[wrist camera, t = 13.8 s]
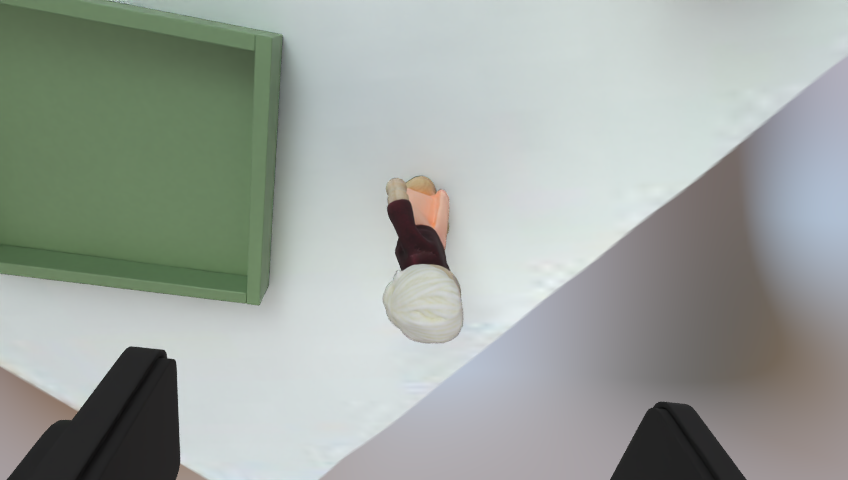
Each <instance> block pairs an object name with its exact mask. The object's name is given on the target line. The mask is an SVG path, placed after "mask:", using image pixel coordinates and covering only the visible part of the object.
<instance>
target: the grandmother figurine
mask: <svg viewBox="0 0 848 480" xmlns="http://www.w3.org/2000/svg"><path fill="white" fill-rule="evenodd" d="M386 192H387V194H388V207H387V211H388V215H389V218H390V220H391V222H392V224H393V226H394V228H395V230H396V232H397V234H398V237H399V239H398V242H397V246H396V249H395V255H396V257H397V260H398V262H399V265H400V268H401V271H398V270H397V271H396V274H395V275H394V278H393V280H392V281H391V282H390V283H389V284H388V285H387V287H386V289H385V292H384V295H383V303H384V306H385V309H386V314H387V316H388V318H389V320H390V321H391V322H392V323H393V324H394V325H395V326H396V327H397V328H399V329H400V330H401V331H402V333H403V334H404V335H405V336H406V337H408V338H409V339H411V340H413V341H416V342H420V343H445V342H448V341H450V340H452V339H454V338H455V337H456V336H457V335H458V334H459V332H460V330H461V328H462V326H463V308H462V300H461V289H460V285H459V283H458V280H457V279H456V277H455V276H454V275H453V273H451V272H450V269H449V266H448V265H447V261H446V255H445V247H446V237H447V233H448V231H449V222H448V219H449V197H448V195H447V193H446V192H445V191H444V190H442V189H440V190H439V191H437V193H436V189H435V186H434V184H433V182H432V181H431V180H430V179H428V178H427V177H424V176H418V177H414V178H413V179H411V180H409V181H408V182H406V183H405V182H404V181H403V180H402V179H399V178H393V179H391V180H390V181H389V182H388V183H387V185H386Z"/></svg>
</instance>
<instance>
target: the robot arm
mask: <svg viewBox="0 0 848 480" xmlns="http://www.w3.org/2000/svg"><path fill="white" fill-rule="evenodd" d="M179 466H180V442H179V417H178V393H177V368H176V361H175V360H174V359H167V354H166V352H165V350H160V349H151V348H141V347H131V346H130V347H128V348H127V349H126V350H125V351H124V352H123V353H122V354H121V356H120V357H119V358H118V360H117V361H116V362H115V364H114V365H113V366H112V368H111V369H110V370H109V372H108V373H107V374H106V376H105V377H104V378H103V380H102V381H101V382H100V384H99V385H98V386H97V388H96V389H95V390H94V392H93V393H92V394H91V396H90V397H89V398H88V400H87V401H86V402H85V404H84V405H83V406H82V407H81V409H80V410H79V411H78V413H77V414H76V415H75V417H74V418H73V419H72V420H60V421H57V422H56V423H54V424H53V425H51V426H50V427H49V428H48V429H47V431H45V433H44V434H43V435H42V436H41V438H40V439H39V440H38V441H37V442H36V444H35V445H34V446H33V447H32V449H31V450H30V451H29V452H28V454H27V455H26V456H25V458H24V459H23V460H22V461H21V463H20V464H19V465H18V466H17V468H16V469H15V470H14V471H13V473H12V474H11V475H10V476H9V478H8V479H7V480H176V477H177V474H178V471H179ZM610 480H746V479H745V477H744V476H743V474H742V473H741V472H740V470H739V469H738V468H737V466H736V465H735V464H734V462H733V461H732V459H731V458H730V457H729V455H728V454H727V453H726V451H725V450H724V449H723V447H722V446H721V445H720V443H719V442H718V441H717V439H716V438H715V437H714V435H713V434H712V433H711V431H710V430H709V429H708V427H707V426H706V425H705V423H704V422H703V420H702V419H701V418H700V416H699V415H698V414H697V412H696V411H695V410H694V409H693V408H692V407H691V406H689V405H687V404H680V403H670V402H658V403H656V404H655V406H654V407H653V408H651V409H649V410H648V411H647V412H646V414H645V416H644V418H643V420H642V421H641V423H640V425H639V427H638V429H637V431H636V433H635V434H634V436H633V438H632V440H631V442H630V444H629V446H628V448H627V449H626V451H625V453H624V455H623V457H622V459H621V461H620V462H619V464H618V466H617V468H616V470H615V472H614V473H613V475H612V477H611V479H610Z"/></svg>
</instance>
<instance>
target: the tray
mask: <svg viewBox="0 0 848 480" xmlns="http://www.w3.org/2000/svg"><path fill="white" fill-rule="evenodd" d="M282 38H283V35H281V34H276V33H271V32H266V31H261V30H256V29H251V28H246V27H240V26H235V25H230V24H225V23H220V22H215V21H210V20H204V19H199V18H194V17H189V16H184V15H179V14H174V13H169V12H163V11H158V10H153V9H148V8H143V7H138V6H133V5H127V4H122V3H117V2H112V1H107V0H0V274H8V275H16V276H24V277H32V278H41V279H49V280H57V281H65V282H73V283H82V284H90V285H98V286H106V287H114V288H123V289H131V290H139V291H147V292H155V293H163V294H172V295H180V296H188V297H196V298H204V299H213V300H221V301H229V302H237V303H247V304H251V305H260V303H261V301H262V299H263V297H264V294H265V292H266V290H267V288H268V286H269V270H270V252H271V234H272V216H273V198H274V181H275V163H276V145H277V127H278V109H279V91H280V73H281V56H282Z"/></svg>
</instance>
